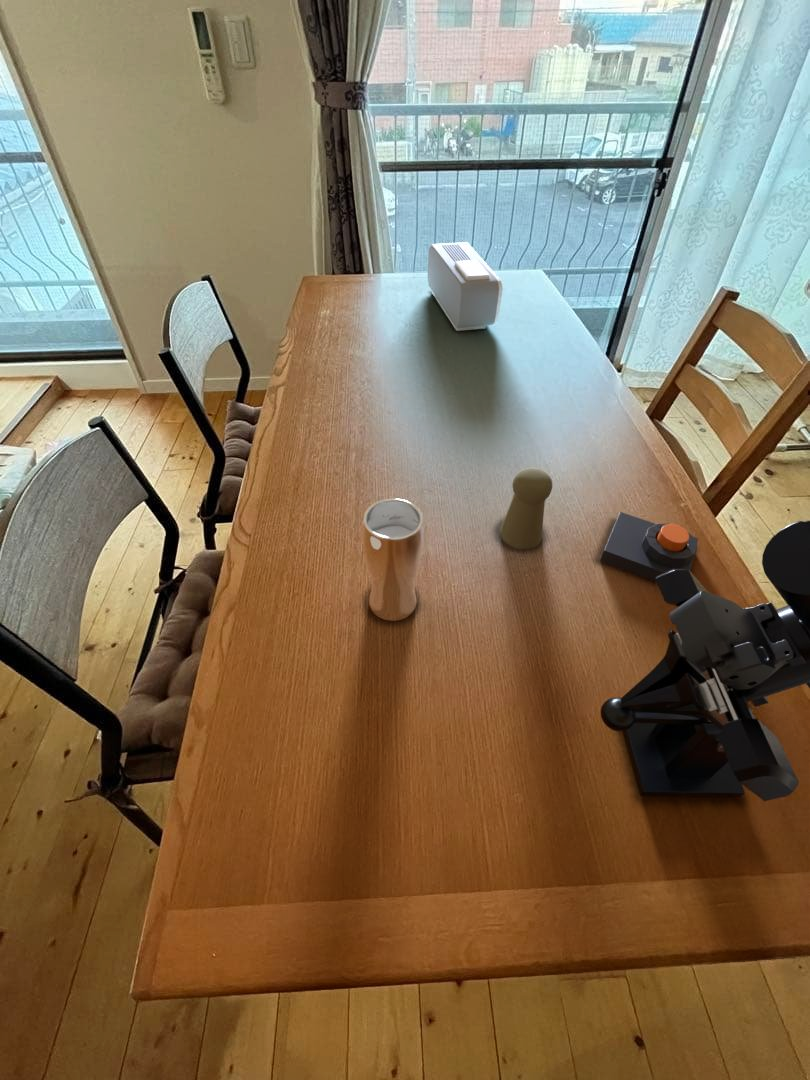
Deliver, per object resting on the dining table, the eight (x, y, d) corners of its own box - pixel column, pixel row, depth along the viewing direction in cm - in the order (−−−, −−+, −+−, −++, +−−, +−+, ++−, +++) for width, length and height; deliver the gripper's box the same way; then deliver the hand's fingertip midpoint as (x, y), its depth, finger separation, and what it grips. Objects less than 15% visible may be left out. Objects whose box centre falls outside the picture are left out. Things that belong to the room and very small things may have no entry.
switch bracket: (640, 796, 55) (681, 750, 47) (619, 720, 61) (653, 668, 53) (740, 797, 55) (797, 752, 47) (710, 722, 61) (756, 670, 53)
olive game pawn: (549, 542, 79) (567, 483, 72) (512, 553, 78) (526, 494, 70) (528, 515, 83) (542, 457, 75) (492, 525, 82) (503, 466, 74)
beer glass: (359, 589, 73) (353, 504, 62) (408, 575, 75) (411, 491, 64) (375, 630, 68) (373, 547, 58) (428, 615, 70) (434, 531, 59)
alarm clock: (497, 333, 125) (504, 278, 117) (457, 336, 124) (462, 281, 115) (461, 285, 144) (465, 235, 135) (426, 288, 142) (429, 237, 133)
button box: (692, 548, 79) (703, 529, 76) (681, 591, 74) (693, 572, 71) (615, 522, 83) (623, 502, 80) (599, 561, 77) (607, 541, 74)
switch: (600, 736, 51) (611, 721, 49) (593, 706, 53) (602, 690, 51) (726, 740, 52) (742, 726, 49) (714, 710, 54) (728, 695, 52)
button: (686, 538, 75) (691, 529, 74) (682, 555, 73) (687, 546, 72) (659, 529, 77) (664, 520, 75) (654, 546, 74) (658, 536, 73)
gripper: (722, 498, 44) (555, 583, 52) (850, 717, 31) (603, 786, 39) (770, 565, 50) (613, 633, 58) (896, 774, 37) (672, 824, 45)
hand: (623, 705), depth 50 cm, fingers closed, pressing on switch
